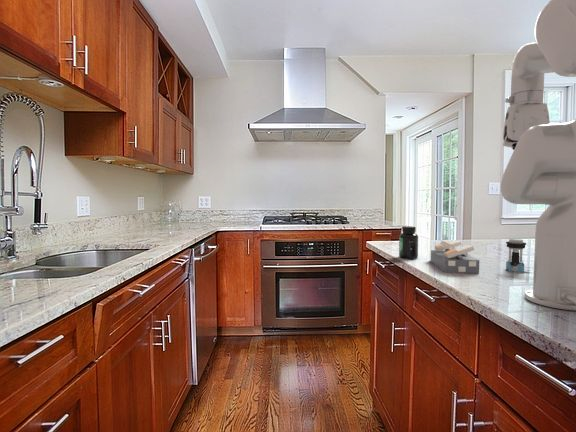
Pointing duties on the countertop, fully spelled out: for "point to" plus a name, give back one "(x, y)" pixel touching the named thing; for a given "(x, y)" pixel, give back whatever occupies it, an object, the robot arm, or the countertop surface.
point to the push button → (515, 255)
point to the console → (455, 262)
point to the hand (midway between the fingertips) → (523, 166)
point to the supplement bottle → (408, 243)
